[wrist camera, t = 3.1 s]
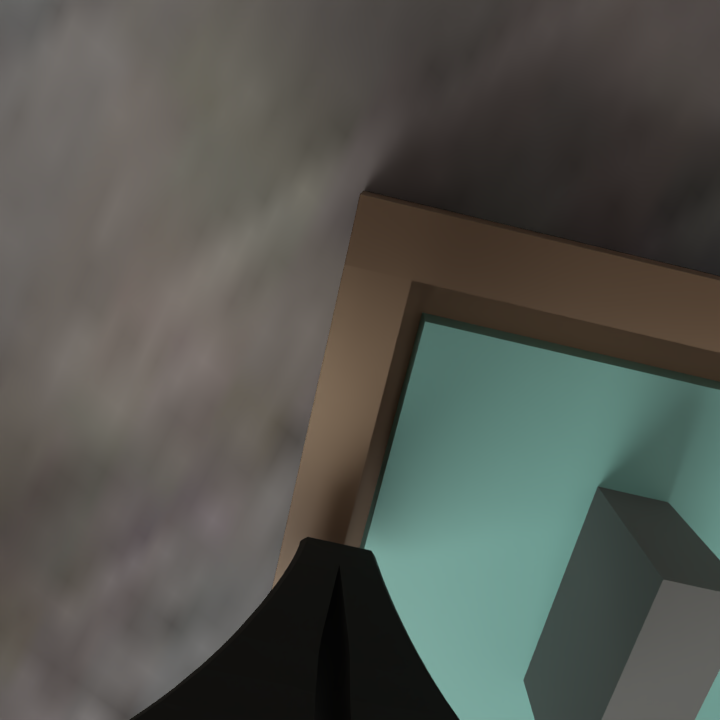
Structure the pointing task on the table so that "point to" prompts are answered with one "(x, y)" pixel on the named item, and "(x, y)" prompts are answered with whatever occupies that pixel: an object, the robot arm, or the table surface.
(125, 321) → the table surface
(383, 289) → the wooden tray
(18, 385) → the table surface
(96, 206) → the table surface
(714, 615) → the cover plate
